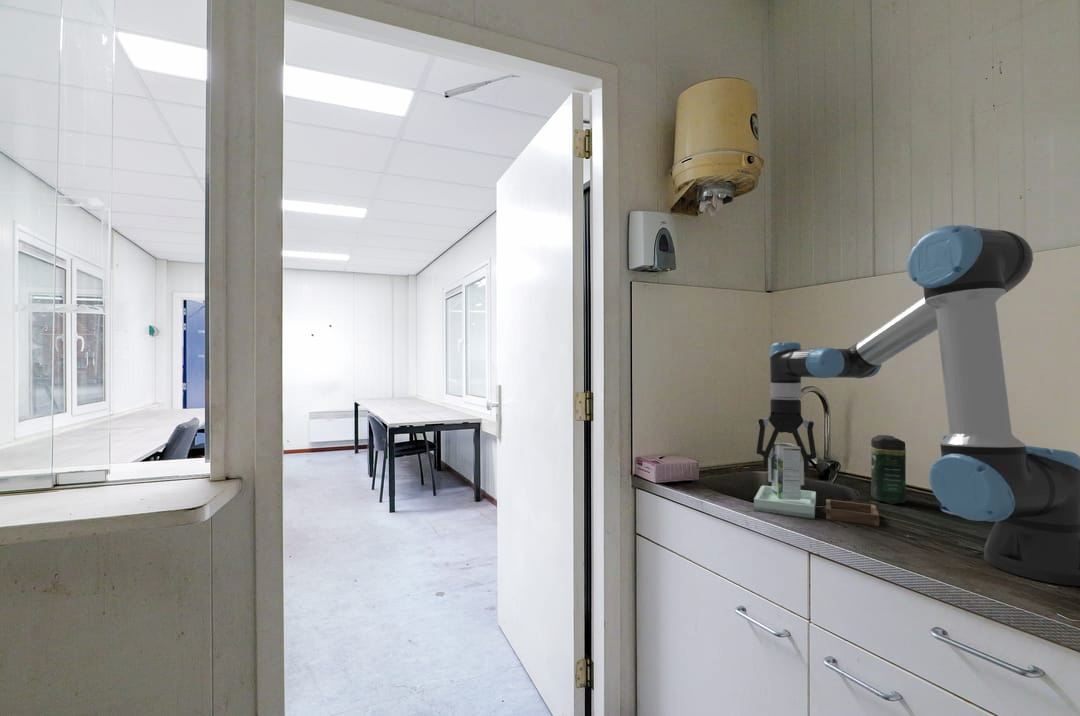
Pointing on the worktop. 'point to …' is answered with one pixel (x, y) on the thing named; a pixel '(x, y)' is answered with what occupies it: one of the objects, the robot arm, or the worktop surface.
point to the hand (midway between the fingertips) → (786, 482)
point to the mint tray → (785, 503)
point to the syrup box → (786, 471)
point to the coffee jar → (888, 469)
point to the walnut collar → (852, 512)
